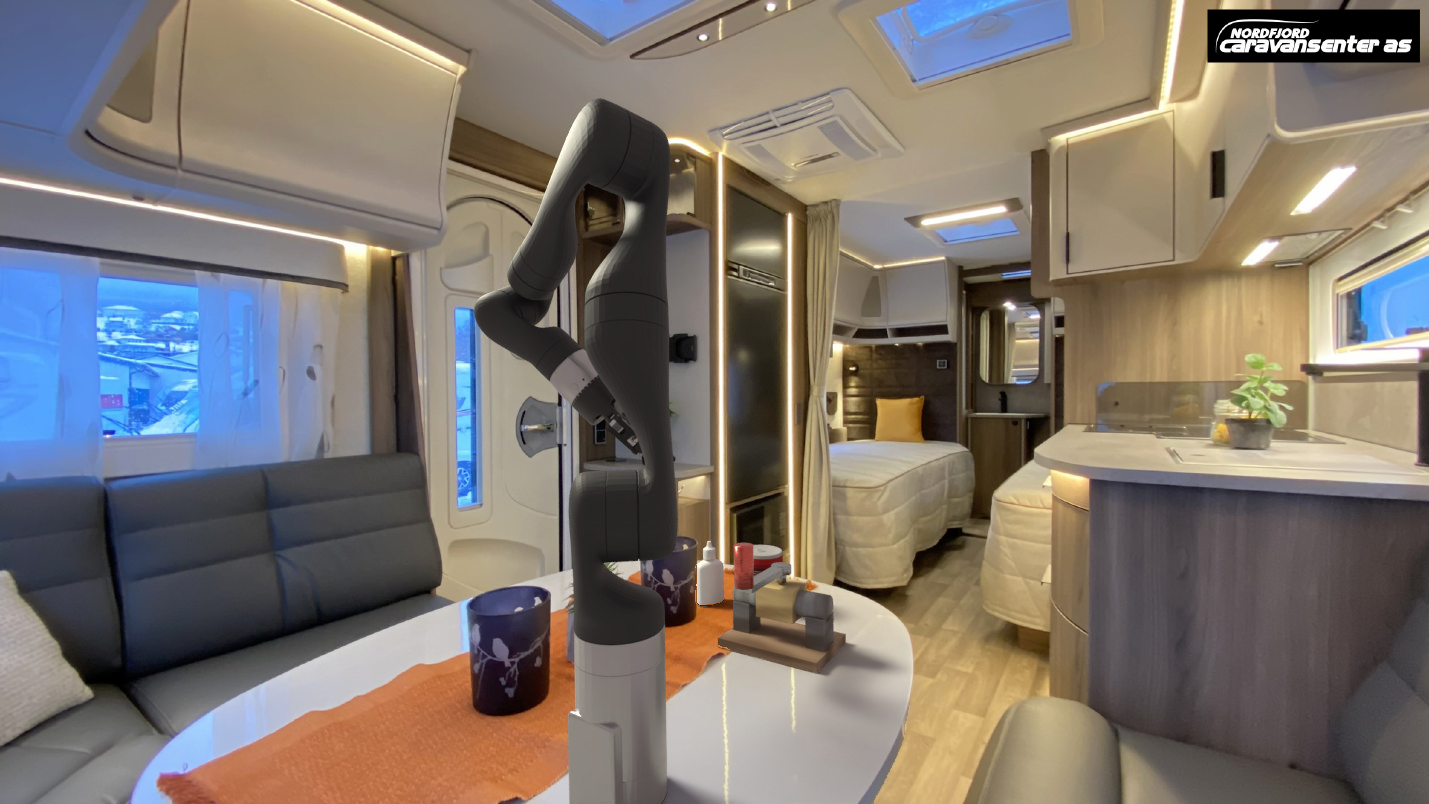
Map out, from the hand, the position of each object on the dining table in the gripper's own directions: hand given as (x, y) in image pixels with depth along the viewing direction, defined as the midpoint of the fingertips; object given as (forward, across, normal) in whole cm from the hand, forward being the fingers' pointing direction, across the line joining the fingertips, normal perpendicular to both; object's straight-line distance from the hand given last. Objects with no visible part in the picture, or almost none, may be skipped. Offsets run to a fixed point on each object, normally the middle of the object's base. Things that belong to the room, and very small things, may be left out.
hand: (669, 466), depth 88 cm
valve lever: (+24, +2, +4) cm, 24 cm away
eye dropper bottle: (+24, +26, +18) cm, 40 cm away
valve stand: (+33, +8, +9) cm, 35 cm away
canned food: (+32, +24, +11) cm, 41 cm away
